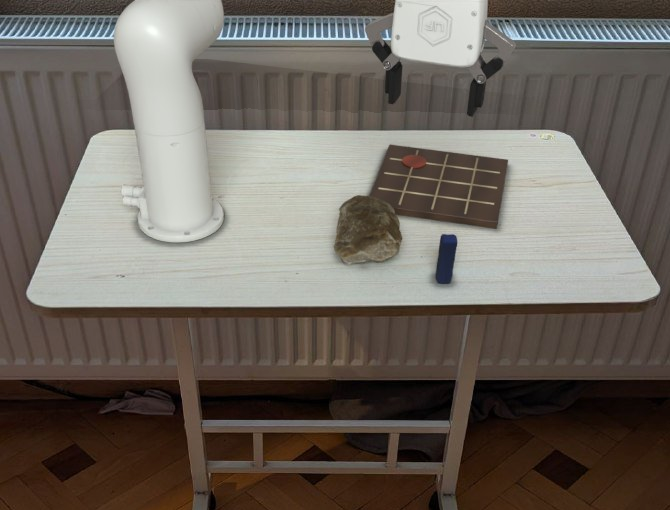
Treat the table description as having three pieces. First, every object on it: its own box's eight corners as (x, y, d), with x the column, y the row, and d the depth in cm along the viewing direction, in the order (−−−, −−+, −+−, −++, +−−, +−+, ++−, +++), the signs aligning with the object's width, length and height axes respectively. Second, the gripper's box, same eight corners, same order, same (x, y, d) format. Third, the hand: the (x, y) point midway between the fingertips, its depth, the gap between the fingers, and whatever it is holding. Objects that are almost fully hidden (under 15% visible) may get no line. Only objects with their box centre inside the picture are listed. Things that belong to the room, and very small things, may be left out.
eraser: (434, 274, 115) (440, 232, 110) (451, 275, 115) (457, 233, 110) (435, 284, 114) (441, 241, 109) (451, 284, 114) (458, 242, 109)
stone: (326, 212, 123) (361, 174, 118) (366, 240, 126) (401, 204, 122) (330, 262, 114) (368, 223, 110) (373, 291, 117) (412, 253, 113)
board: (365, 210, 127) (366, 202, 126) (389, 150, 141) (389, 143, 140) (496, 229, 124) (498, 220, 123) (507, 166, 138) (508, 158, 137)
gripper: (358, -50, 87) (354, 107, 99) (522, -32, 83) (498, 130, 95) (379, -69, 92) (373, 83, 104) (534, -53, 88) (510, 104, 100)
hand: (432, 105), depth 100 cm, fingers open, 9 cm apart
